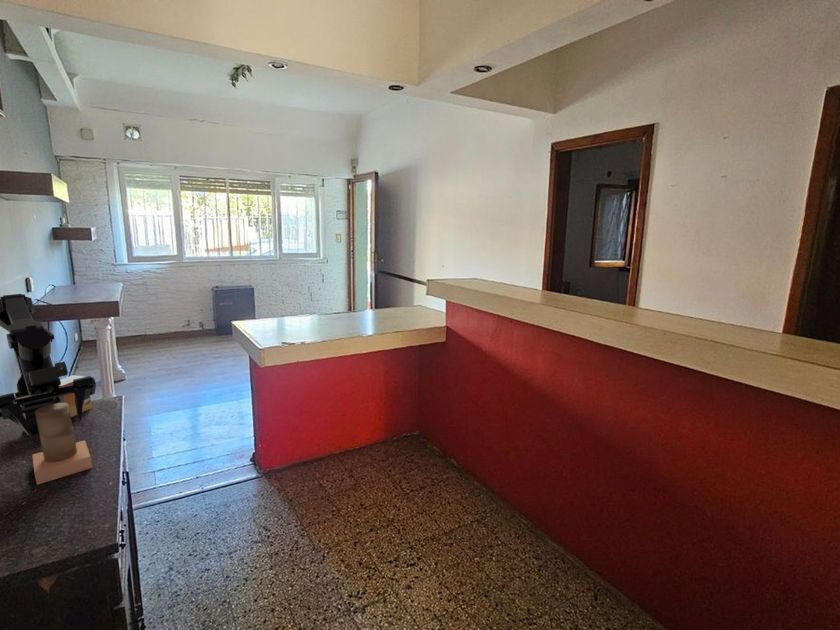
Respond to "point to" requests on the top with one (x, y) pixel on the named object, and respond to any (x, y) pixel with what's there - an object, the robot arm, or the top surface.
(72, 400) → the small box
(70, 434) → the beige tall cylinder
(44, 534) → the top surface
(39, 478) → the terracotta plinth
